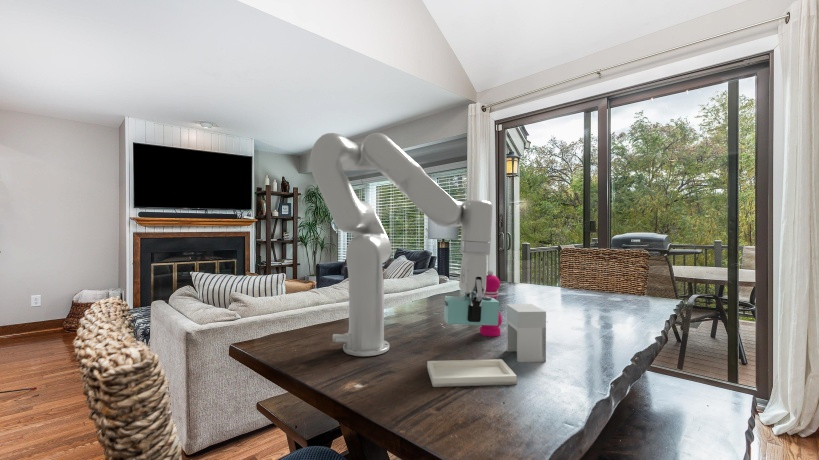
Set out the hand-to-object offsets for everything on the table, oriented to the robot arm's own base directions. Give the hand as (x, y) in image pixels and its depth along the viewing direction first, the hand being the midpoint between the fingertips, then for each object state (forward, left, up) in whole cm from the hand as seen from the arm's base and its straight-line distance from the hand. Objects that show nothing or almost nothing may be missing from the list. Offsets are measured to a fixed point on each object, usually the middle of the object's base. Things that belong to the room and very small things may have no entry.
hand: (471, 317), depth 96 cm
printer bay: (+14, 0, -10) cm, 17 cm away
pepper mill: (+11, +20, -10) cm, 25 cm away
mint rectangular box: (0, 0, -1) cm, 1 cm away
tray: (-3, -12, -10) cm, 16 cm away
